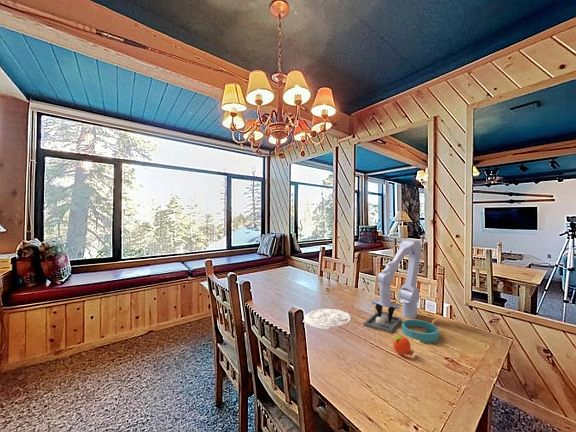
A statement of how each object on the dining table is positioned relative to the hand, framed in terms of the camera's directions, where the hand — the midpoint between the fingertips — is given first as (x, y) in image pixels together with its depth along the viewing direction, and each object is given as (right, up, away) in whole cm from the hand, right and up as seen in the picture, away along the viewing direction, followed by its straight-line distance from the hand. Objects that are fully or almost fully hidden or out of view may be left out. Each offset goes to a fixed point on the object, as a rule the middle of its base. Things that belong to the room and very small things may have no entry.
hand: (385, 319), depth 141 cm
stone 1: (-5, -1, -6) cm, 8 cm away
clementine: (-5, -2, -31) cm, 31 cm away
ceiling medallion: (-30, -3, +7) cm, 31 cm away
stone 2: (0, -1, 0) cm, 1 cm away
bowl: (+11, -2, -15) cm, 19 cm away
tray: (-3, -2, -3) cm, 4 cm away
